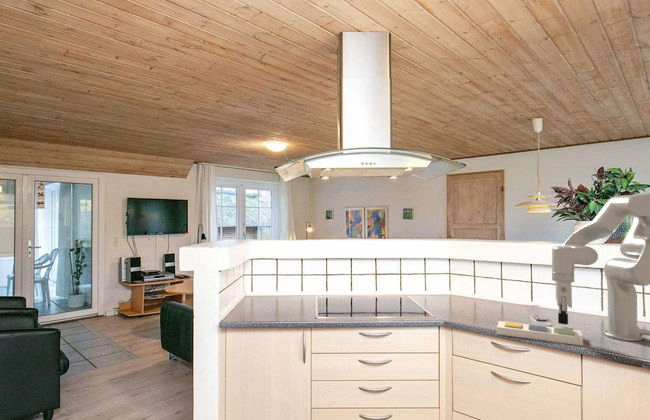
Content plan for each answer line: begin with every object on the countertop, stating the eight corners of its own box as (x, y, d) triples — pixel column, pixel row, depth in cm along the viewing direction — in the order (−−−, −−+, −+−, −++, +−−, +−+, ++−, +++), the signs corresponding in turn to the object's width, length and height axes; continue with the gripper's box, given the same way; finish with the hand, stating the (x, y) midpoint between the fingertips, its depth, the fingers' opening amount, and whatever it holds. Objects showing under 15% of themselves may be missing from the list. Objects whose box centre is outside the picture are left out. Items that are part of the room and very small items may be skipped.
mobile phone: (538, 304, 188) (553, 318, 164) (539, 317, 188) (554, 332, 163) (524, 304, 189) (537, 317, 165) (525, 316, 189) (538, 331, 165)
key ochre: (521, 328, 164) (521, 323, 164) (521, 332, 159) (521, 326, 159) (506, 327, 167) (506, 321, 167) (505, 330, 162) (505, 324, 162)
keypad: (580, 338, 156) (580, 330, 156) (583, 345, 147) (583, 337, 147) (499, 327, 170) (499, 320, 170) (496, 334, 162) (496, 327, 162)
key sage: (572, 332, 156) (572, 325, 156) (573, 336, 150) (573, 330, 150) (554, 330, 158) (554, 323, 158) (555, 334, 153) (555, 327, 153)
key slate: (546, 329, 160) (546, 322, 160) (546, 333, 155) (546, 326, 155) (529, 327, 163) (529, 321, 163) (529, 330, 158) (529, 324, 158)
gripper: (575, 281, 146) (575, 329, 146) (572, 275, 159) (572, 320, 159) (552, 279, 150) (552, 327, 150) (551, 273, 163) (551, 317, 163)
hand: (563, 323), depth 154 cm, fingers closed
